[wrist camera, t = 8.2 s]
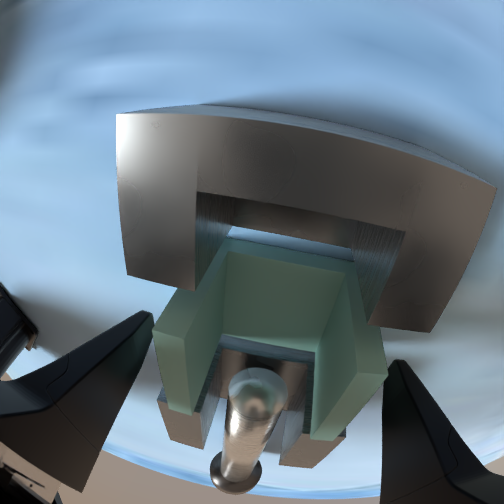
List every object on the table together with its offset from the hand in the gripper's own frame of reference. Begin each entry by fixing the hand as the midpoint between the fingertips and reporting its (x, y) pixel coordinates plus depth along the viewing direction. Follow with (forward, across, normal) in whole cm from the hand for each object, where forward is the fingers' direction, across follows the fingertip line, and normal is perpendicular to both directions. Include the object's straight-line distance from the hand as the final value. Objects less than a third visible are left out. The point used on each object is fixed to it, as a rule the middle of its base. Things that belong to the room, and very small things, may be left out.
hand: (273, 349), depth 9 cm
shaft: (+3, 0, +12) cm, 12 cm away
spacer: (+3, 0, 0) cm, 3 cm away
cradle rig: (+3, 0, +1) cm, 3 cm away
